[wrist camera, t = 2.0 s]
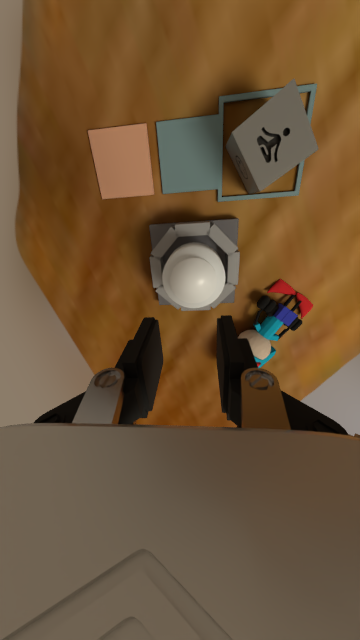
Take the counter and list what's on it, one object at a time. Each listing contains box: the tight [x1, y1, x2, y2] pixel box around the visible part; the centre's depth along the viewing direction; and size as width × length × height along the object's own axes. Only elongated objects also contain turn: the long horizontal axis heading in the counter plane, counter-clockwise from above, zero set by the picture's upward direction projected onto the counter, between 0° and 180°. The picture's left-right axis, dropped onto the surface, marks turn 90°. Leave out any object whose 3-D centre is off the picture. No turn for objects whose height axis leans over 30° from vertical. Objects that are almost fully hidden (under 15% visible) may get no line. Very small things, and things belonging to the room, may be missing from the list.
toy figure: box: [238, 279, 313, 368], centre depth 30 cm, size 8×5×15 cm
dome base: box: [149, 218, 240, 311], centre depth 26 cm, size 10×10×3 cm
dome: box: [162, 242, 225, 308], centre depth 23 cm, size 6×6×4 cm
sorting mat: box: [88, 84, 317, 202], centre depth 22 cm, size 21×8×1 cm, turn 94°
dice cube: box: [225, 79, 318, 194], centre depth 19 cm, size 5×5×5 cm
